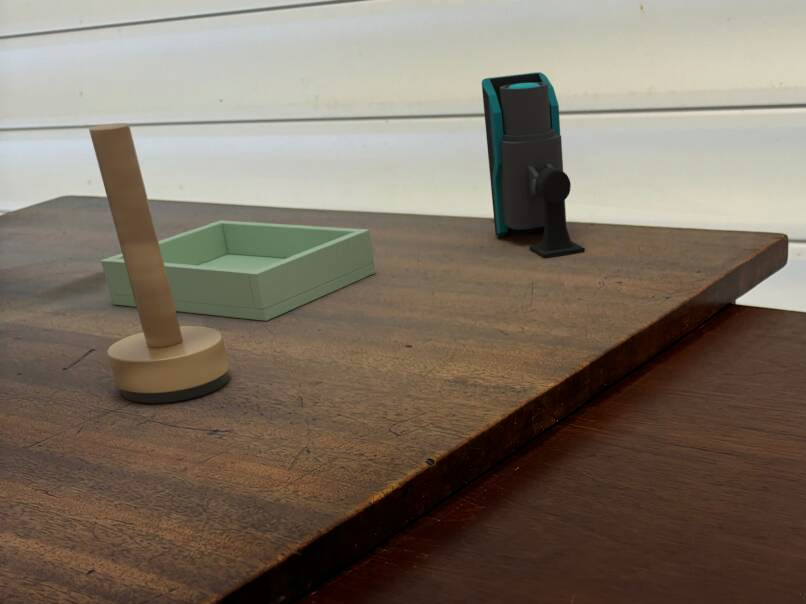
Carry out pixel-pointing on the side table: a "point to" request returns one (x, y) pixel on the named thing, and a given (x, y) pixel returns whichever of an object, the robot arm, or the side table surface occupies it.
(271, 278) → the tray
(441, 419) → the side table surface
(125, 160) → the peg on round base
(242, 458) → the side table surface
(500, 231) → the surveillance camera
